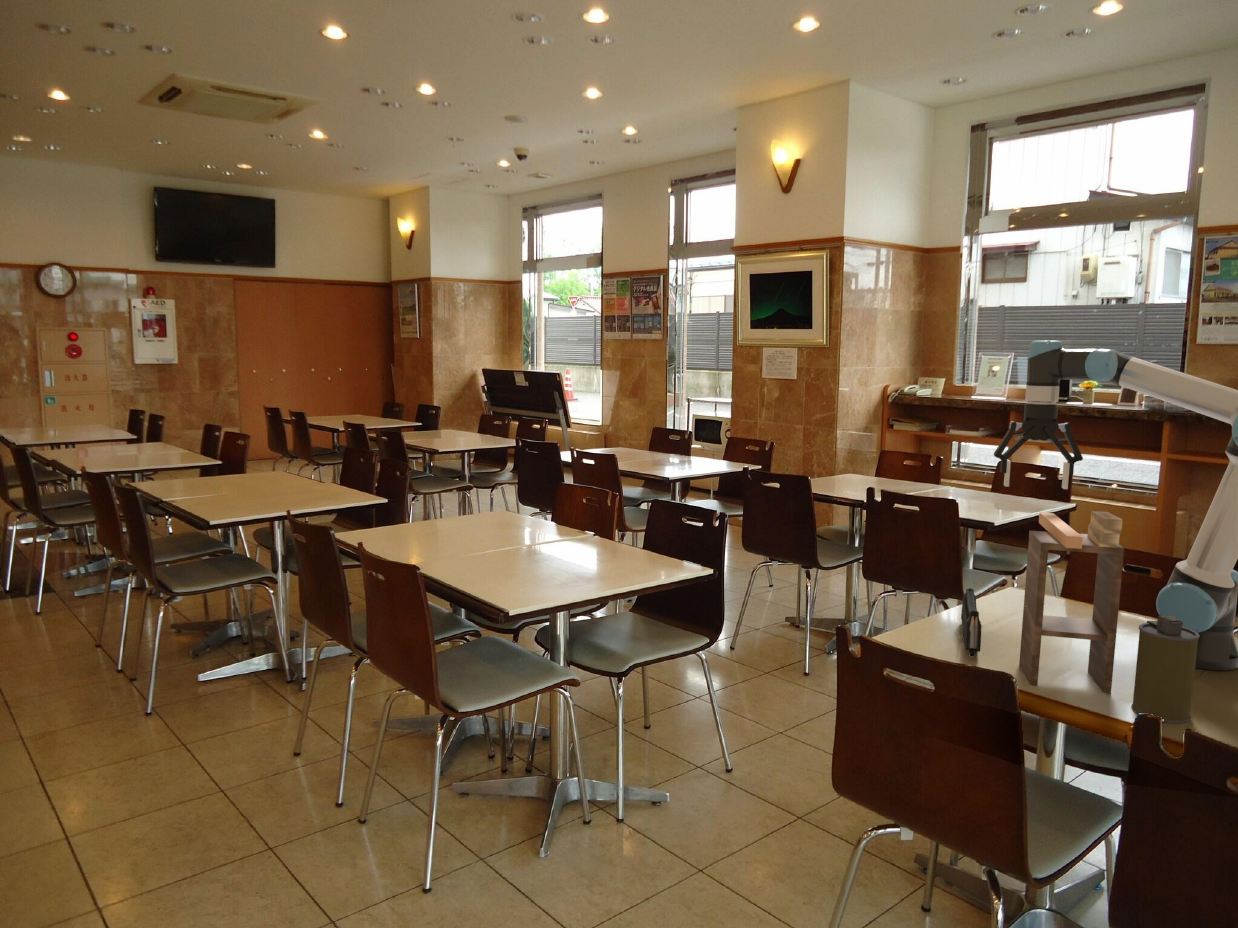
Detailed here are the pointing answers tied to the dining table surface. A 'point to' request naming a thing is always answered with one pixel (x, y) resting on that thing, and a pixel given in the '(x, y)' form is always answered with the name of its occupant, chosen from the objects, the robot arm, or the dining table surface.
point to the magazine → (970, 623)
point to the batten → (1060, 530)
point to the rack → (1096, 630)
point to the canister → (1165, 669)
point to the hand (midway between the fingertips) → (1035, 487)
